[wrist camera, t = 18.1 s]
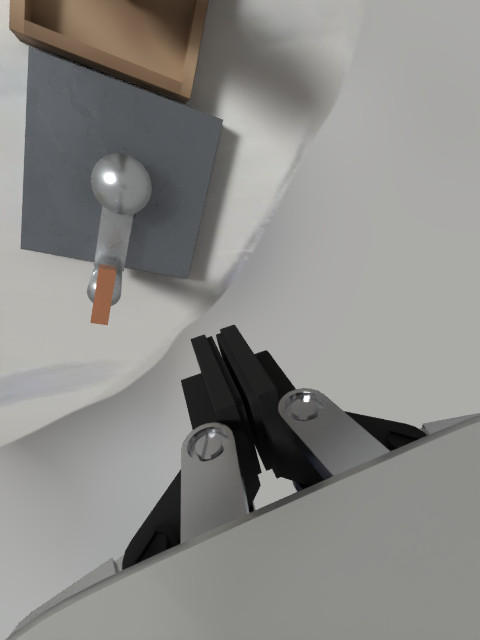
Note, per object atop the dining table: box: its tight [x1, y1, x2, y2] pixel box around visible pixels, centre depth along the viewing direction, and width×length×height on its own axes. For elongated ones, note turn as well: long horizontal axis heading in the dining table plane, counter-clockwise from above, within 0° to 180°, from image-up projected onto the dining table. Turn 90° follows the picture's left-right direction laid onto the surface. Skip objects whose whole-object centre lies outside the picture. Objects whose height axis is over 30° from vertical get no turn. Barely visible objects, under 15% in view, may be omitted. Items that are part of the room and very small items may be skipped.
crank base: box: [21, 47, 223, 279], centre depth 28 cm, size 15×14×2 cm
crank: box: [87, 153, 152, 325], centre depth 25 cm, size 11×4×8 cm, turn 163°
